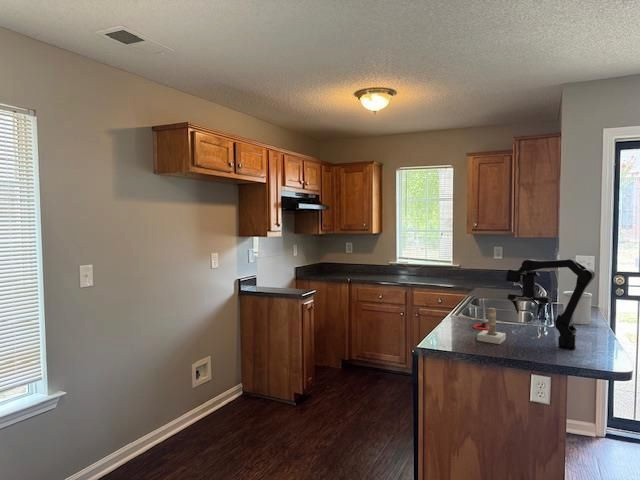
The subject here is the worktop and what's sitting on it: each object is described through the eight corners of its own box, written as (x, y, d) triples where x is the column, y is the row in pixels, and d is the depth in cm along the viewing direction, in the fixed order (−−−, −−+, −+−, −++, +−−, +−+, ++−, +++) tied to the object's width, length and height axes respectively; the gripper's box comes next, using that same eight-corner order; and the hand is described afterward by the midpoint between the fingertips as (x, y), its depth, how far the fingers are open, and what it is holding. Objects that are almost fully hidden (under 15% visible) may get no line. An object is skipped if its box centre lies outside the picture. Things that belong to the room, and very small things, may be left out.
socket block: (505, 339, 221) (505, 333, 221) (500, 344, 212) (500, 338, 212) (483, 335, 228) (483, 330, 228) (477, 340, 219) (477, 334, 219)
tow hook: (485, 331, 238) (492, 327, 245) (485, 308, 237) (492, 305, 244) (470, 329, 244) (477, 325, 251) (470, 306, 243) (477, 303, 250)
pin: (496, 340, 219) (497, 308, 219) (492, 341, 218) (492, 309, 217) (491, 338, 223) (491, 307, 222) (486, 339, 221) (486, 308, 220)
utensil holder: (564, 318, 270) (564, 290, 269) (592, 321, 261) (592, 292, 260) (560, 322, 258) (561, 293, 257) (590, 326, 249) (591, 296, 248)
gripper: (551, 284, 219) (551, 314, 220) (512, 280, 230) (511, 309, 231) (548, 286, 210) (547, 318, 211) (507, 283, 221) (506, 313, 222)
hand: (527, 314), depth 219 cm, fingers open, 9 cm apart
